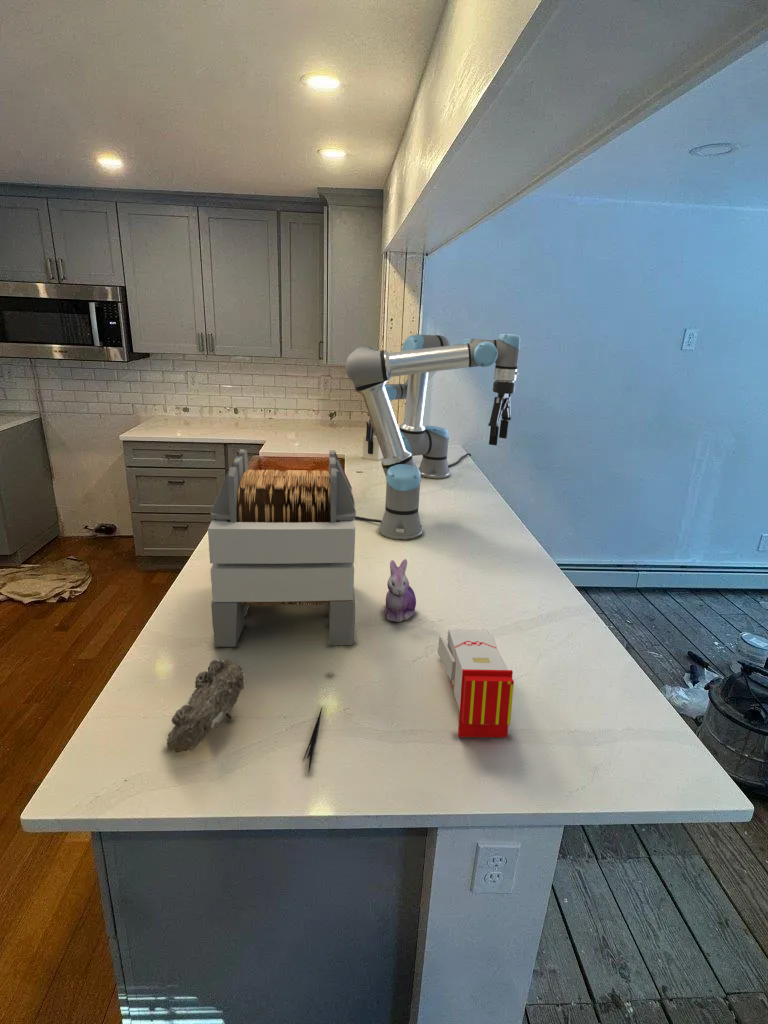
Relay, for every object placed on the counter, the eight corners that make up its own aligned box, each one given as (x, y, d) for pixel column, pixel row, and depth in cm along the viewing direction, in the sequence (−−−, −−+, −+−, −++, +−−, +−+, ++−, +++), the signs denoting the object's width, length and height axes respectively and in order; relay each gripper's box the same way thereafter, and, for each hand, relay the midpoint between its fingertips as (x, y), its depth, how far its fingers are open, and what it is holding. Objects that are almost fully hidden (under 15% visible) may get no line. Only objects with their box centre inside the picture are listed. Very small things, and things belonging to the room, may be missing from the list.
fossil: (192, 660, 117) (244, 628, 112) (224, 691, 120) (276, 661, 115) (142, 746, 98) (202, 712, 93) (182, 779, 101) (242, 748, 96)
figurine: (392, 627, 141) (395, 572, 136) (374, 608, 149) (376, 556, 144) (425, 619, 145) (429, 566, 140) (405, 601, 154) (408, 550, 149)
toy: (488, 613, 130) (523, 677, 101) (484, 667, 133) (517, 744, 104) (435, 612, 130) (455, 676, 101) (432, 666, 133) (451, 743, 103)
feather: (331, 679, 122) (336, 673, 122) (307, 777, 96) (313, 769, 95) (324, 675, 122) (329, 669, 121) (298, 772, 95) (304, 764, 95)
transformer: (232, 581, 160) (225, 440, 147) (348, 580, 164) (351, 442, 150) (211, 649, 129) (199, 477, 115) (355, 646, 132) (360, 479, 119)
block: (362, 457, 298) (363, 436, 294) (368, 455, 303) (368, 434, 300) (378, 460, 295) (379, 438, 291) (383, 458, 300) (384, 436, 296)
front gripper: (506, 385, 184) (499, 449, 191) (523, 378, 205) (516, 436, 212) (484, 383, 187) (477, 446, 194) (503, 376, 208) (496, 434, 215)
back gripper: (373, 411, 281) (371, 457, 288) (389, 406, 297) (387, 449, 305) (359, 410, 284) (358, 455, 291) (376, 405, 300) (374, 448, 308)
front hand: (497, 441), depth 203 cm, fingers open, 13 cm apart
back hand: (373, 452), depth 298 cm, fingers closed on block, 6 cm apart
